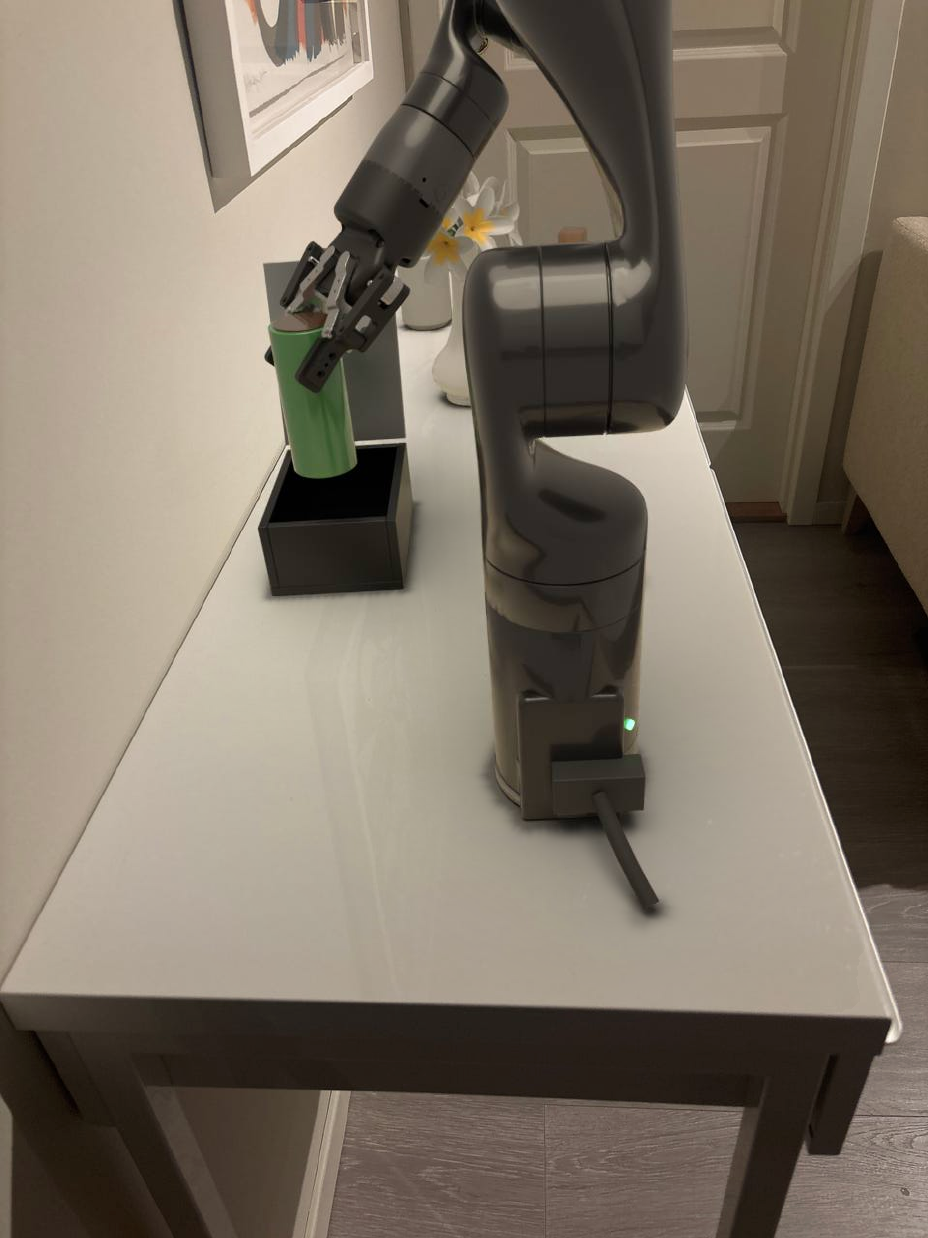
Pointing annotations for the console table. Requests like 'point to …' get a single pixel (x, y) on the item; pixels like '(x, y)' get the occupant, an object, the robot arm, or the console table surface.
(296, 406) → the green cylinder
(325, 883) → the console table surface
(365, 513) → the dark grey open box
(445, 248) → the flower vase
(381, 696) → the console table surface
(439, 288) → the can
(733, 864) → the console table surface
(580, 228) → the wooden block
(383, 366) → the lid
